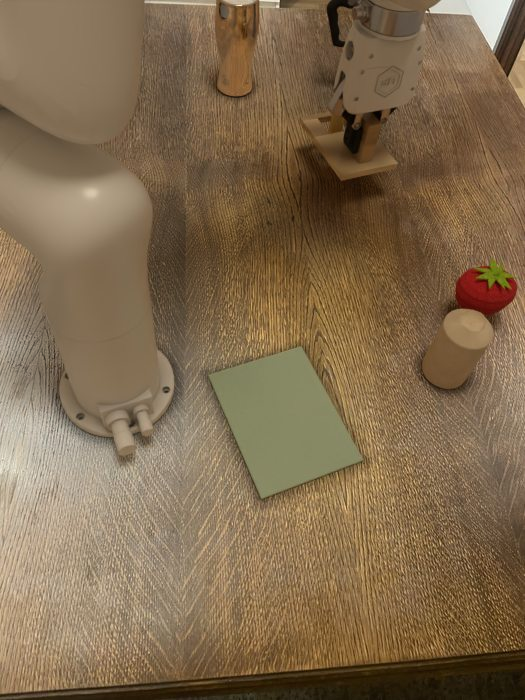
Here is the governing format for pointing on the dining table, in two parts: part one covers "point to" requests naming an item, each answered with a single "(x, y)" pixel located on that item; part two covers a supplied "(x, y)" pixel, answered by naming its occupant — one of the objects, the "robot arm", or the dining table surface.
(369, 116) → the wooden board with handle
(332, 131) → the wooden peg
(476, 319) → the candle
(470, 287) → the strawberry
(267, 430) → the mat
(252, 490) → the dining table surface
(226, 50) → the beer glass
